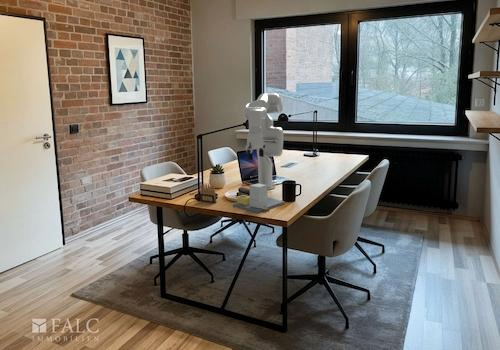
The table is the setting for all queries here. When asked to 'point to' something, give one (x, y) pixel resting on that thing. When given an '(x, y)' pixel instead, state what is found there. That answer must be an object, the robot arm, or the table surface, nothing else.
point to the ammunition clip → (207, 193)
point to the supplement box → (258, 195)
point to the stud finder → (243, 199)
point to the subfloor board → (270, 204)
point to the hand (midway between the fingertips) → (255, 158)
